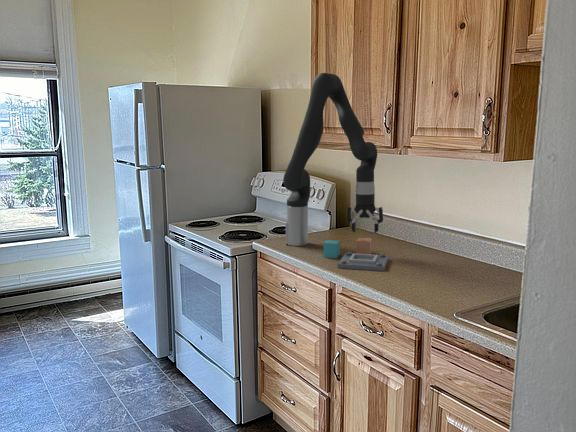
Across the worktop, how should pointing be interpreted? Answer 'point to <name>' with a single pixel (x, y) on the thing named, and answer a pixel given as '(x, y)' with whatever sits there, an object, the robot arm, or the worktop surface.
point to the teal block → (331, 249)
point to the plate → (363, 261)
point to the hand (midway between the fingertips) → (365, 232)
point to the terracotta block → (364, 246)
